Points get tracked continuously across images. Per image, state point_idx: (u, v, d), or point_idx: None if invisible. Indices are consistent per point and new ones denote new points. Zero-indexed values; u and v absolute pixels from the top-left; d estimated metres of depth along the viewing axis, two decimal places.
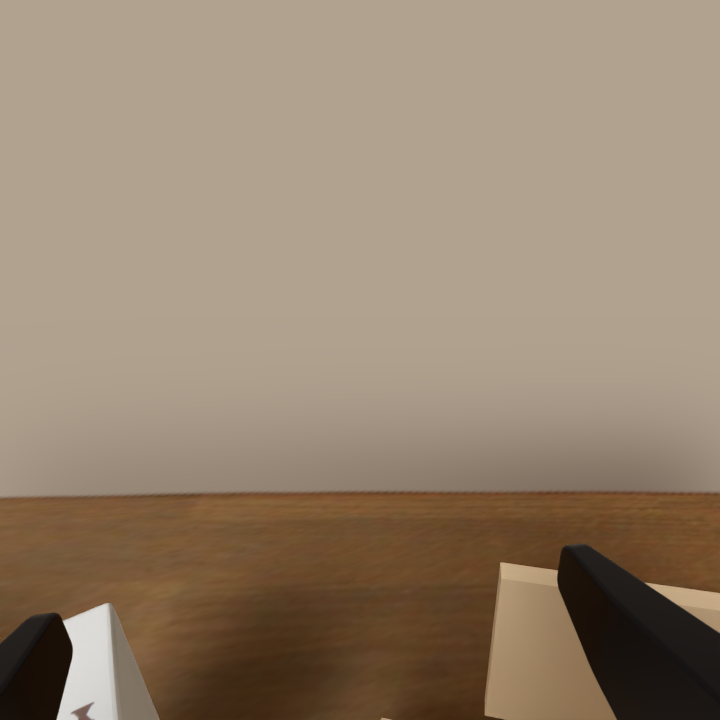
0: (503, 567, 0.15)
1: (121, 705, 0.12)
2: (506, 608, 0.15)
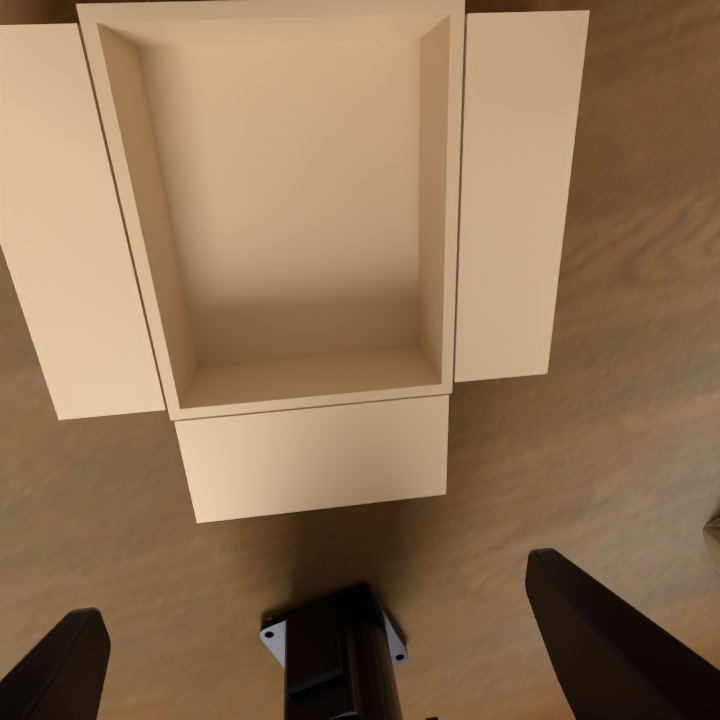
0: None
1: None
2: None
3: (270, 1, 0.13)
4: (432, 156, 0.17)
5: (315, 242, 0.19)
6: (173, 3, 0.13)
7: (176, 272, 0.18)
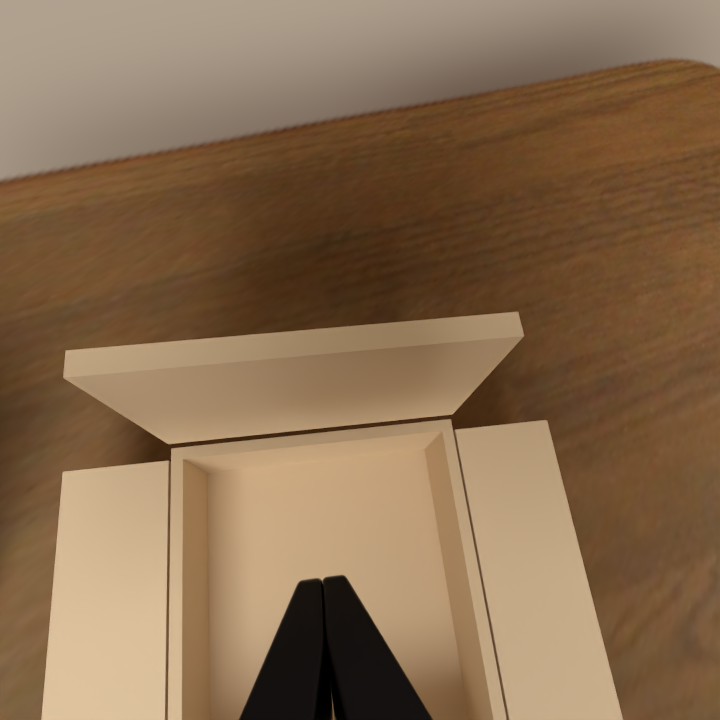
0: (68, 358, 0.10)
1: None
2: (102, 394, 0.11)
3: (309, 435, 0.18)
4: (449, 536, 0.18)
5: None
6: (240, 442, 0.18)
7: (205, 674, 0.18)
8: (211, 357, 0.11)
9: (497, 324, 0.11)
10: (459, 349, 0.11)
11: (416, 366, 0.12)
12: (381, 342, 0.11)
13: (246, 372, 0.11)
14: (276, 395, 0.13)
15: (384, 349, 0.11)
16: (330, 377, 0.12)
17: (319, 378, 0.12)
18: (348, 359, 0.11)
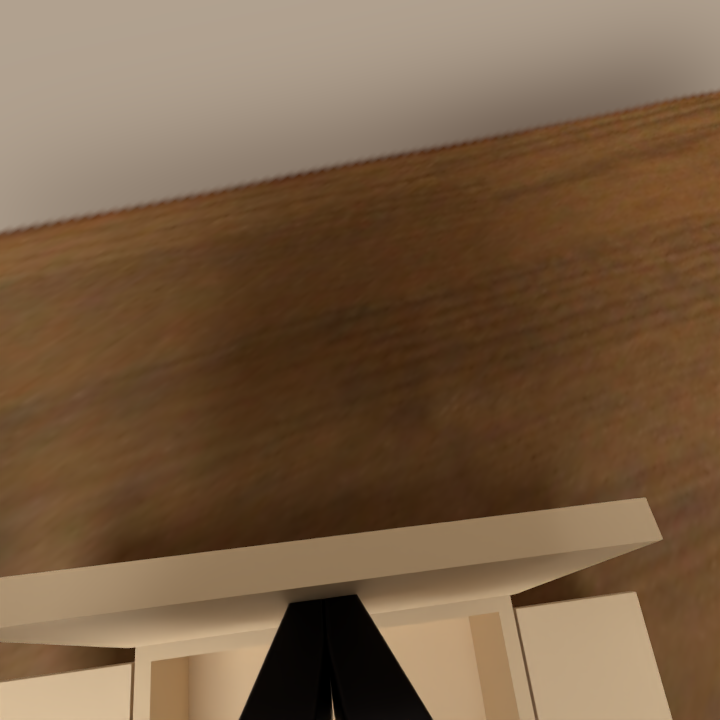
0: None
1: None
2: (2, 638, 0.07)
3: None
4: None
5: None
6: (228, 634, 0.13)
7: None
8: (169, 591, 0.07)
9: (617, 519, 0.07)
10: (558, 557, 0.07)
11: (487, 573, 0.08)
12: (440, 556, 0.07)
13: (227, 603, 0.07)
14: (275, 610, 0.09)
15: (445, 568, 0.07)
16: (357, 592, 0.08)
17: (340, 595, 0.08)
18: (387, 580, 0.07)
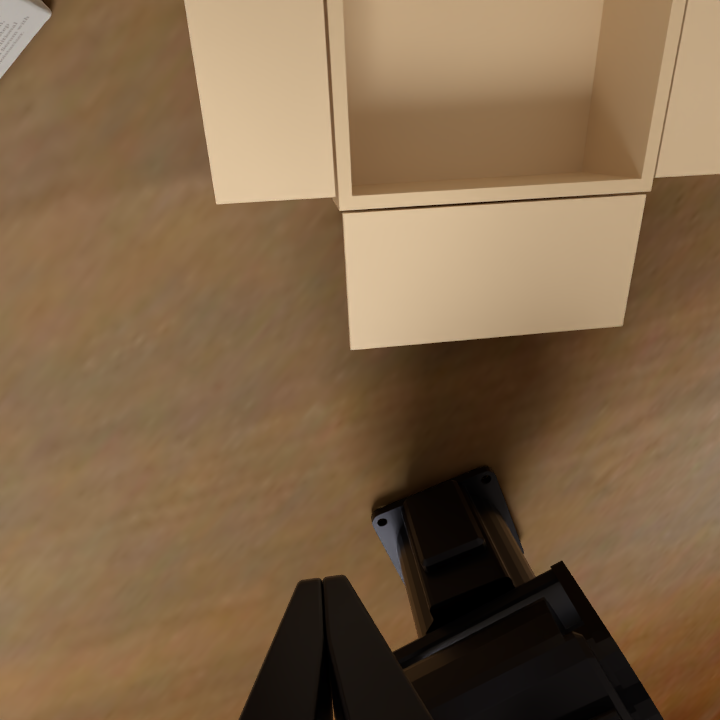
0: None
1: None
2: None
3: None
4: None
5: (486, 29, 0.17)
6: None
7: None
8: None
9: None
10: None
11: None
12: None
13: None
14: None
15: None
16: None
17: None
18: None
